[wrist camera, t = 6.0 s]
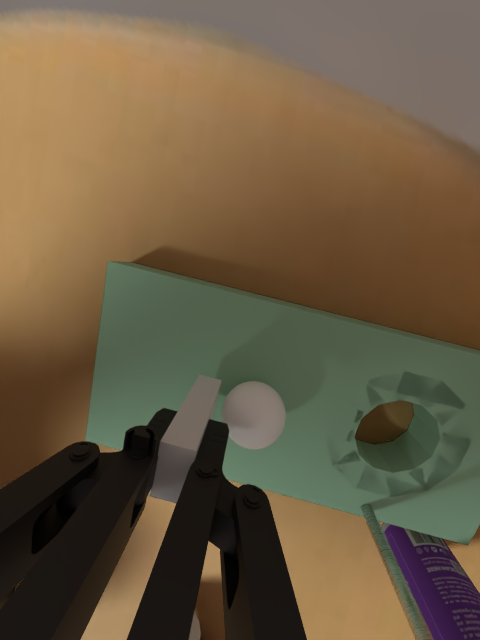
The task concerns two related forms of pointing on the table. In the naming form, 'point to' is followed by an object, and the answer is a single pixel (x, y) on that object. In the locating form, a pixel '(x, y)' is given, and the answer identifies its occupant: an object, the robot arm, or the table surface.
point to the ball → (254, 415)
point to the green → (298, 395)
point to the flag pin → (397, 577)
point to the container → (437, 584)
